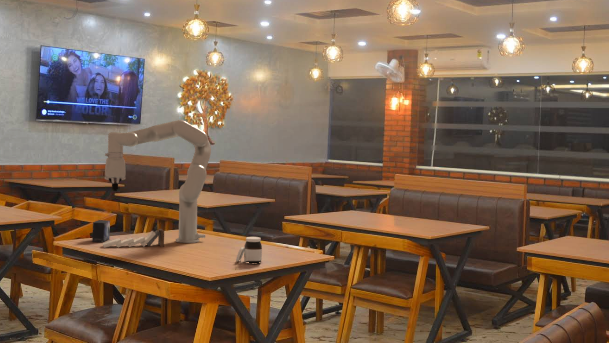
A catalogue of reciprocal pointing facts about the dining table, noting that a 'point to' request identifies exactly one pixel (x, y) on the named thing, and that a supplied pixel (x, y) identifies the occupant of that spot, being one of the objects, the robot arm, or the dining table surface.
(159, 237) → the block
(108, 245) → the domino
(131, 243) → the domino
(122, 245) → the domino
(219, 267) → the dining table surface
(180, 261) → the dining table surface
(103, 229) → the small box
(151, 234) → the domino
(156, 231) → the end domino
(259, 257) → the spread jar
